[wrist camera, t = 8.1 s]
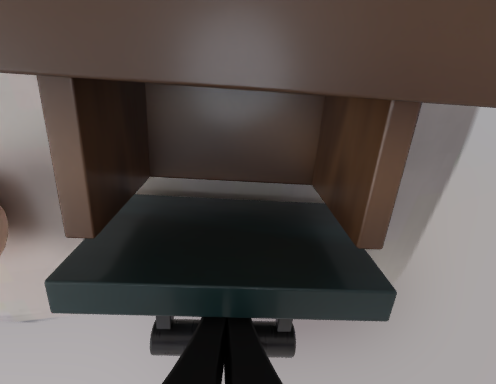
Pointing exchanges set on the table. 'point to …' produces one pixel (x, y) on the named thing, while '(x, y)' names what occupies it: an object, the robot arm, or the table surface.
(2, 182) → the table surface
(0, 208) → the egg
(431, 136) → the table surface
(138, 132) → the drawer
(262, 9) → the cabinet
